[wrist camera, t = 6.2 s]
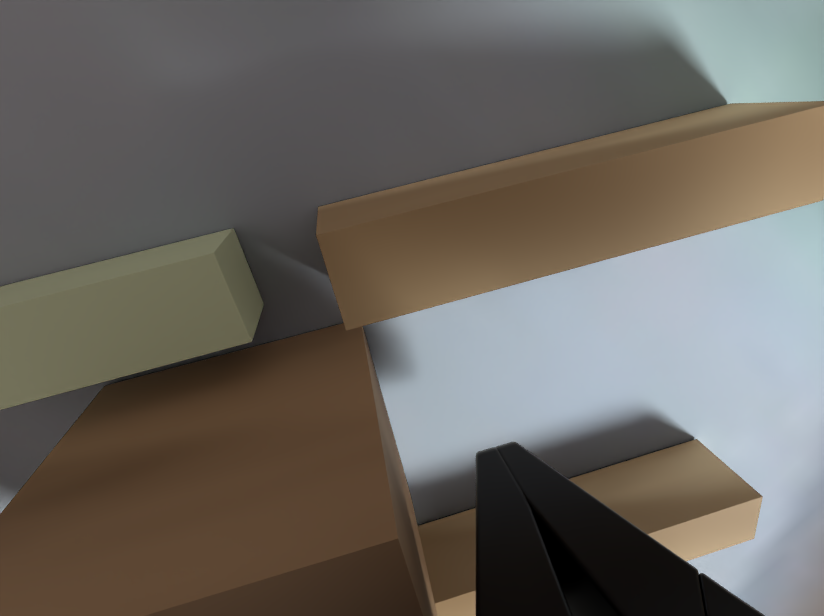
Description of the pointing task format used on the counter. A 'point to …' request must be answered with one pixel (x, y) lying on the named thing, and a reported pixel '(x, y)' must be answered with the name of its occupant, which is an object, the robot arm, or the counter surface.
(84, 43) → the counter surface
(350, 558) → the walnut block
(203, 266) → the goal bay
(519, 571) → the robot arm
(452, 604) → the tunnel walls
